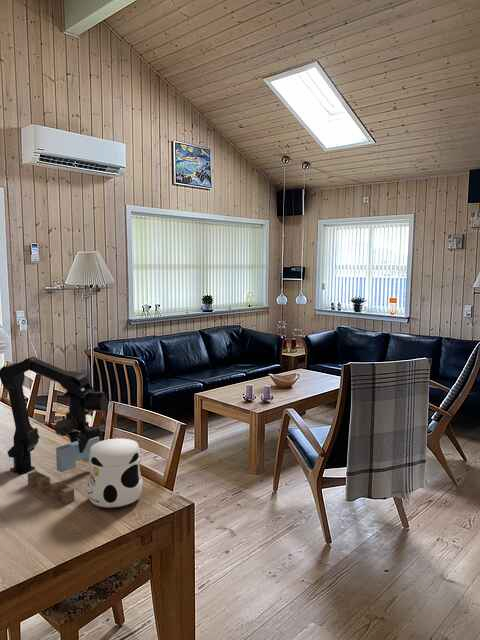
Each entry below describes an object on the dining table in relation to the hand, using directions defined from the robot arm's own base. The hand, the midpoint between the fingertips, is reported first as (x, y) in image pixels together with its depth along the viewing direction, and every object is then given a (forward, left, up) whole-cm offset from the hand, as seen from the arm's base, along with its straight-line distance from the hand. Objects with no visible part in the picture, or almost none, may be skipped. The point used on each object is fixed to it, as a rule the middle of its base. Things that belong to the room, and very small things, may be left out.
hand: (78, 451), depth 178 cm
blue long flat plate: (0, 0, -5) cm, 5 cm away
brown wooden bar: (+4, -14, -9) cm, 17 cm away
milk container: (+25, -4, -9) cm, 27 cm away
